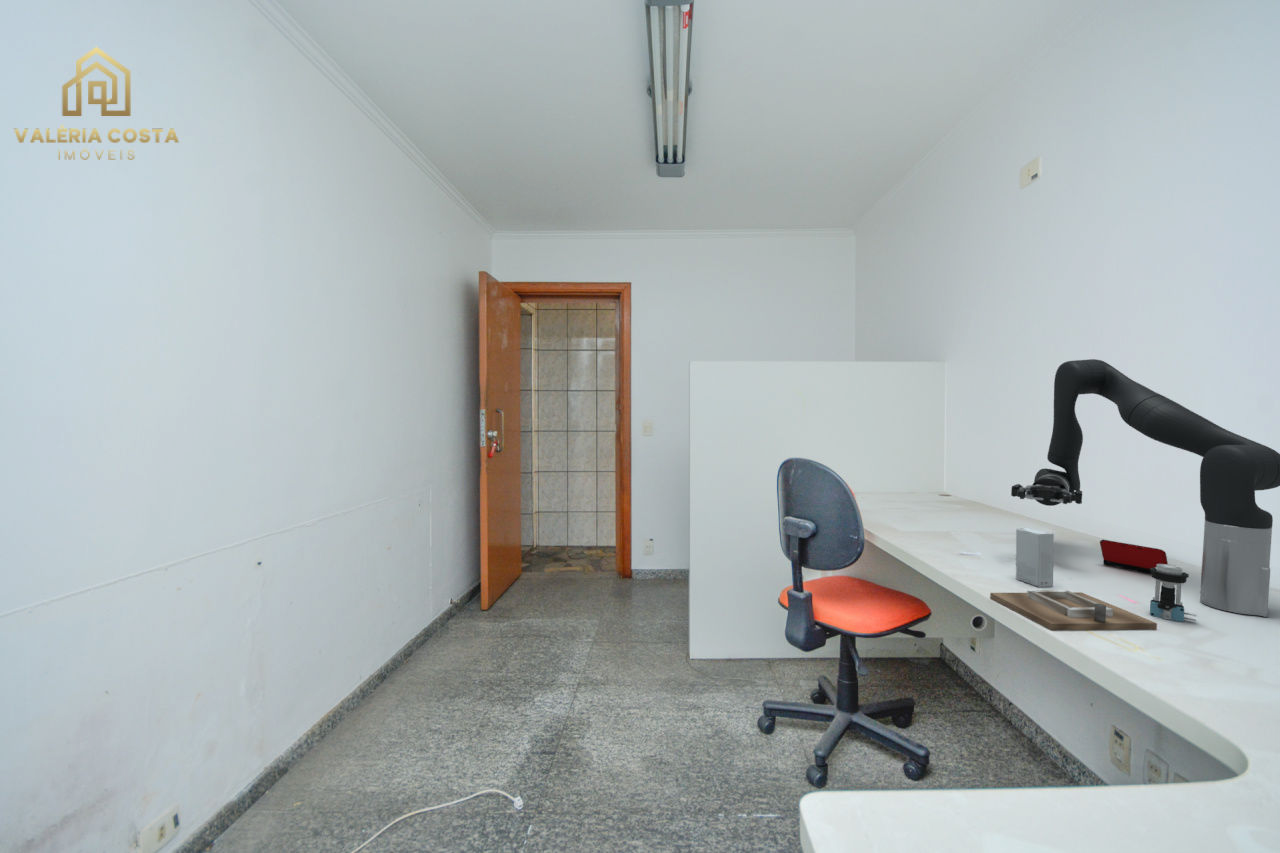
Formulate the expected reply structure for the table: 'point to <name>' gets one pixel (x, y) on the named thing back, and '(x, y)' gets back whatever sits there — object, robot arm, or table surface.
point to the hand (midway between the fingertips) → (1043, 497)
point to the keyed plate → (1071, 611)
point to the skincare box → (1034, 557)
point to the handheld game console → (1131, 556)
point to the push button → (1168, 593)
